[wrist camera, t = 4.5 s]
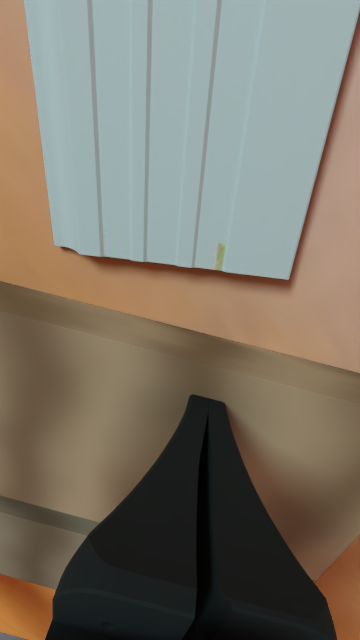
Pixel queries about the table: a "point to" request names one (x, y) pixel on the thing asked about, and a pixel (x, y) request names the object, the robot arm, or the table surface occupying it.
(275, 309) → the table surface
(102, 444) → the plank
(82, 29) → the baseboard
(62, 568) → the floor panel
